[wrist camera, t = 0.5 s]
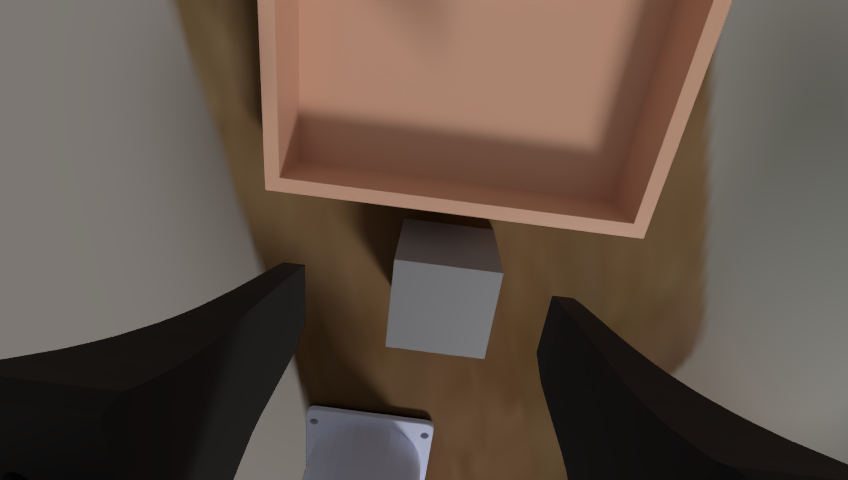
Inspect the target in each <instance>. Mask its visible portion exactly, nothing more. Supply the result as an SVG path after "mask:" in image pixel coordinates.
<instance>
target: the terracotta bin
mask: <svg viewBox="0 0 848 480" xmlns="http://www.w3.org/2000/svg"><path fill="white" fill-rule="evenodd" d="M257 1H258V25H259V49H260V73H261V97H262V121H263V144H264V168H265V190H271V191H279V192H287V193H294V194H302V195H310V196H317V197H325V198H333V199H341V200H348V201H356V202H364V203H371V204H379V205H387V206H394V207H402V208H410V209H418V210H425V211H433V212H441V213H448V214H456V215H464V216H472V217H479V218H487V219H495V220H502V221H510V222H518V223H526V224H533V225H541V226H549V227H556V228H564V229H572V230H580V231H587V232H595V233H603V234H610V235H618V236H626V237H634V238H641V239H644V236H645V233H646V231H647V228H648V225H649V223H650V220H651V217H652V215H653V212H654V209H655V207H656V204H657V201H658V198H659V196H660V193H661V190H662V188H663V185H664V182H665V180H666V177H667V174H668V172H669V169H670V166H671V164H672V161H673V158H674V156H675V153H676V150H677V148H678V145H679V142H680V140H681V137H682V134H683V131H684V129H685V126H686V123H687V121H688V118H689V115H690V113H691V110H692V107H693V105H694V102H695V99H696V97H697V94H698V91H699V89H700V86H701V83H702V81H703V78H704V75H705V72H706V70H707V67H708V64H709V62H710V59H711V56H712V54H713V51H714V48H715V46H716V43H717V40H718V38H719V35H720V32H721V30H722V27H723V24H724V22H725V19H726V16H727V13H728V11H729V8H730V5H731V3H732V0H257Z"/></svg>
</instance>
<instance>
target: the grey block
mask: <svg viewBox="0 0 848 480" xmlns="http://www.w3.org/2000/svg"><path fill="white" fill-rule="evenodd" d="M503 274H504V273H503V269H502V265H501V260H500V256H499V252H498V247H497V243H496V239H495V235H494V230H492V229H485V228H477V227H469V226H461V225H454V224H446V223H438V222H430V221H423V220H415V219H407V218H404V221H403V225H402V229H401V234H400V238H399V242H398V246H397V250H396V254H395V259H394V267H393V277H392V287H391V297H390V307H389V318H388V328H387V338H386V347H393V348H401V349H409V350H417V351H424V352H432V353H440V354H448V355H456V356H464V357H472V358H480V359H484V357H485V353H486V349H487V344H488V340H489V335H490V331H491V327H492V322H493V318H494V313H495V309H496V305H497V300H498V296H499V291H500V287H501V283H502V278H503Z"/></svg>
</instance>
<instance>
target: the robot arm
mask: <svg viewBox="0 0 848 480" xmlns="http://www.w3.org/2000/svg"><path fill="white" fill-rule="evenodd" d="M304 325H305V265H300V264H292V263H282V264H279V265H277V266H275V267H274V268H272V269H270V270H268V271H266V272H265V273H263V274H261V275H259V276H257V277H256V278H254V279H252V280H250V281H248V282H247V283H245V284H243V285H241V286H239V287H237V288H236V289H234V290H232V291H230V292H228V293H226V294H224V295H222V296H220V297H218V298H216V299H214V300H212V301H210V302H207V303H206V304H203V305H201V306H200V307H197V308H195V309H192V310H190V311H188V312H185V313H183V314H180V315H178V316H175V317H173V318H170V319H167V320H164V321H162V322H159V323H156V324H153V325H150V326H147V327H143V328H140V329H137V330H134V331H130V332H127V333H124V334H121V335H117V336H114V337H110V338H106V339H103V340H98V341H95V342H90V343H86V344H81V345H77V346H73V347H68V348H64V349H59V350H54V351H48V352H42V353H36V354H31V355H25V356H19V357H14V358H8V359H1V360H0V480H233V479H234V476H235V474H236V472H237V469H238V466H239V464H240V461H241V459H242V456H243V454H244V452H245V449H246V447H247V444H248V442H249V440H250V437H251V435H252V432H253V430H254V428H255V426H256V424H257V422H258V420H259V418H260V416H261V414H262V412H263V410H264V408H265V406H266V405H267V403H268V401H269V399H270V397H271V395H272V393H273V392H274V390H275V388H276V386H277V384H278V382H279V381H280V379H281V377H282V375H283V373H284V371H285V369H286V367H287V366H288V364H289V362H290V360H291V358H292V356H293V354H294V352H295V349H296V347H297V344H298V342H299V339H300V336H301V333H302V330H303V328H304ZM537 359H538V366H539V373H540V379H541V384H542V388H543V392H544V395H545V398H546V402H547V405H548V409H549V412H550V415H551V419H552V422H553V425H554V429H555V432H556V435H557V439H558V442H559V445H560V449H561V452H562V456H563V460H564V464H565V468H566V472H567V477H568V480H848V465H847V464H845V463H843V462H840V461H838V460H835V459H833V458H830V457H828V456H826V455H824V454H821V453H819V452H816V451H814V450H812V449H809V448H807V447H804V446H802V445H799V444H797V443H795V442H792V441H790V440H788V439H786V438H784V437H781V436H779V435H777V434H775V433H773V432H771V431H769V430H767V429H765V428H763V427H760V426H758V425H756V424H754V423H752V422H750V421H748V420H746V419H744V418H742V417H741V416H739V415H737V414H735V413H733V412H731V411H729V410H727V409H725V408H724V407H722V406H720V405H718V404H717V403H715V402H713V401H711V400H710V399H708V398H706V397H704V396H703V395H701V394H699V393H697V392H696V391H694V390H692V389H691V388H689V387H688V386H686V385H685V384H683V383H682V382H680V381H679V380H677V379H676V378H674V377H673V376H671V375H669V374H668V373H666V372H665V371H664V370H662V369H661V368H659V367H658V366H656V365H655V364H654V363H652V362H651V361H650V360H648V359H647V358H646V357H644V356H643V355H642V354H641V353H639V352H638V351H637V350H635V349H634V348H633V347H632V346H630V345H629V344H628V343H627V342H625V341H624V340H623V339H622V338H620V337H619V336H618V335H617V334H616V333H615V332H613V331H612V330H611V329H610V328H609V327H608V326H606V325H605V324H604V323H603V322H602V321H601V320H599V319H598V318H597V317H596V316H595V315H594V314H592V313H591V312H590V311H589V310H588V309H587V308H585V307H584V306H583V305H582V304H581V303H579V302H578V301H577V300H575V299H574V298H567V297H559V296H552V299H551V303H550V306H549V310H548V313H547V317H546V321H545V324H544V328H543V331H542V335H541V338H540V342H539V346H538V349H537ZM315 419H316V420H315ZM433 429H434V426H433V423H432V422H431V421H429V420H424V419H416V418H408V417H400V416H393V415H385V414H377V413H369V412H361V411H353V410H346V409H338V408H330V407H322V406H311V407H309V408H308V410H307V413H306V470H305V473H304V476H303V479H302V480H425V475H426V469H427V464H428V458H429V453H430V447H431V441H432V436H433ZM424 433H425V434H424Z"/></svg>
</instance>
